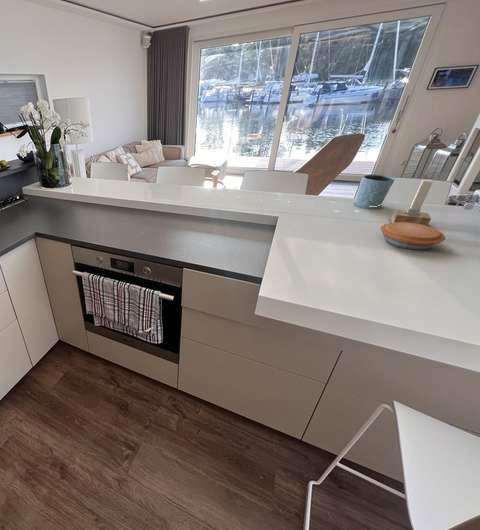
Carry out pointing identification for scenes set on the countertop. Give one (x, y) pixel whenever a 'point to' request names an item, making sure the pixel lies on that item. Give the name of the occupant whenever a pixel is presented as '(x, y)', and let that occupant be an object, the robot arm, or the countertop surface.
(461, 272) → the countertop surface
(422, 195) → the knife
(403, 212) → the knife stand
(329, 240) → the countertop surface
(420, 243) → the pie
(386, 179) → the blue gray cup
